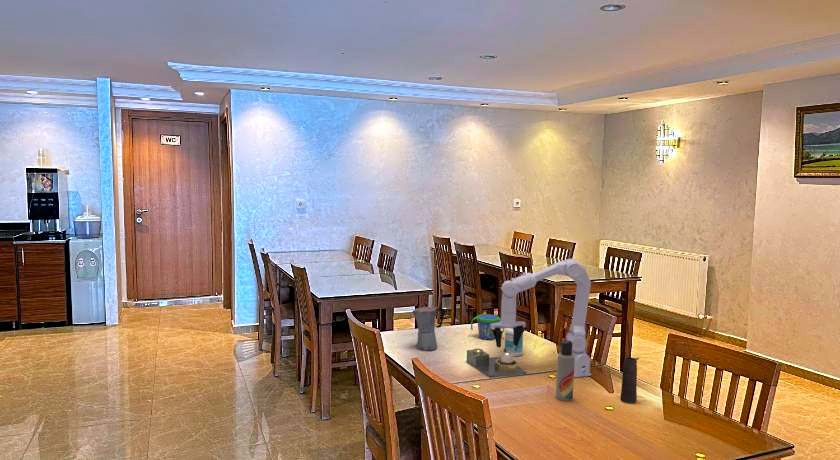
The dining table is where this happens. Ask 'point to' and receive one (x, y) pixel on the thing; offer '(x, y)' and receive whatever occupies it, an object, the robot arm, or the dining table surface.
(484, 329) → the snack cup
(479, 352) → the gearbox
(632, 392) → the butter churn
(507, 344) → the pill bottle
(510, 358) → the spout can
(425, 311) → the moka pot
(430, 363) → the dining table surface
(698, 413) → the dining table surface
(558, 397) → the lotion bottle
